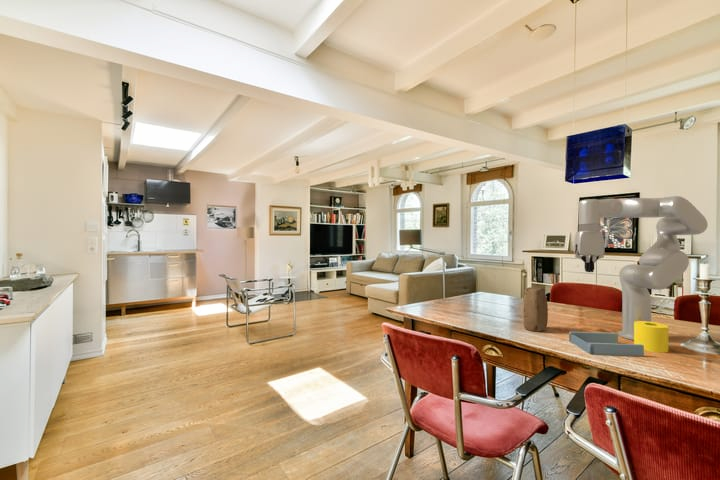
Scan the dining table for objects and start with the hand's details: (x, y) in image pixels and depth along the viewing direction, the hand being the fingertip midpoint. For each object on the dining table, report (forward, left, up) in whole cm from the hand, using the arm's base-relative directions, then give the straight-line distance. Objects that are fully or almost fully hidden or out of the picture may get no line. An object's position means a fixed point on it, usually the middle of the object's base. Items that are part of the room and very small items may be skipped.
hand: (589, 271), depth 136 cm
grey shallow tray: (0, +10, -29) cm, 31 cm away
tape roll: (-18, +8, -29) cm, 35 cm away
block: (+16, -14, -29) cm, 36 cm away
